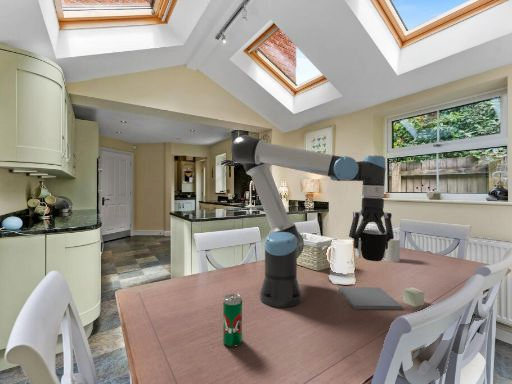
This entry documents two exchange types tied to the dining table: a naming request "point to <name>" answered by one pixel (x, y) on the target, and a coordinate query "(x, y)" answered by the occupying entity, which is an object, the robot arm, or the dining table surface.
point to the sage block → (413, 296)
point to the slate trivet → (369, 298)
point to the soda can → (232, 319)
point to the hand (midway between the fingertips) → (370, 257)
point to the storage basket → (314, 252)
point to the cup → (393, 250)
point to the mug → (373, 245)
